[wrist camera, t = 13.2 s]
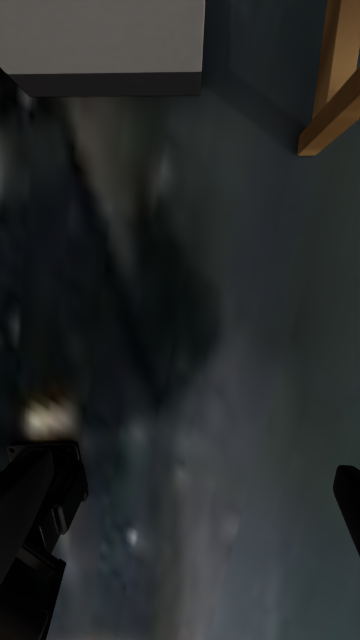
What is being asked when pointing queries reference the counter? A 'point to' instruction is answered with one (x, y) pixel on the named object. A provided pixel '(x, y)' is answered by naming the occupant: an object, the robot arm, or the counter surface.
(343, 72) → the shoe rack
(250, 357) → the counter surface
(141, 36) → the grey lidded shoebox
